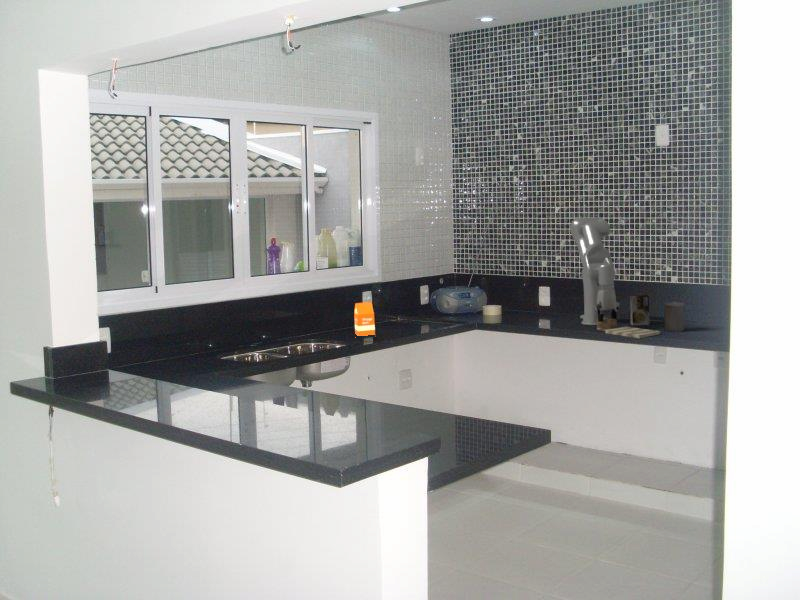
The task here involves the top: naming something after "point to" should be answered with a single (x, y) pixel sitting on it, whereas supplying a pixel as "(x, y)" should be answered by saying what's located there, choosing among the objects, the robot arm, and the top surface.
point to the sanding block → (607, 324)
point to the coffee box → (639, 309)
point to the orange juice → (364, 319)
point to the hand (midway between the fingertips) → (607, 320)
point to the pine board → (632, 332)
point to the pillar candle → (674, 317)
